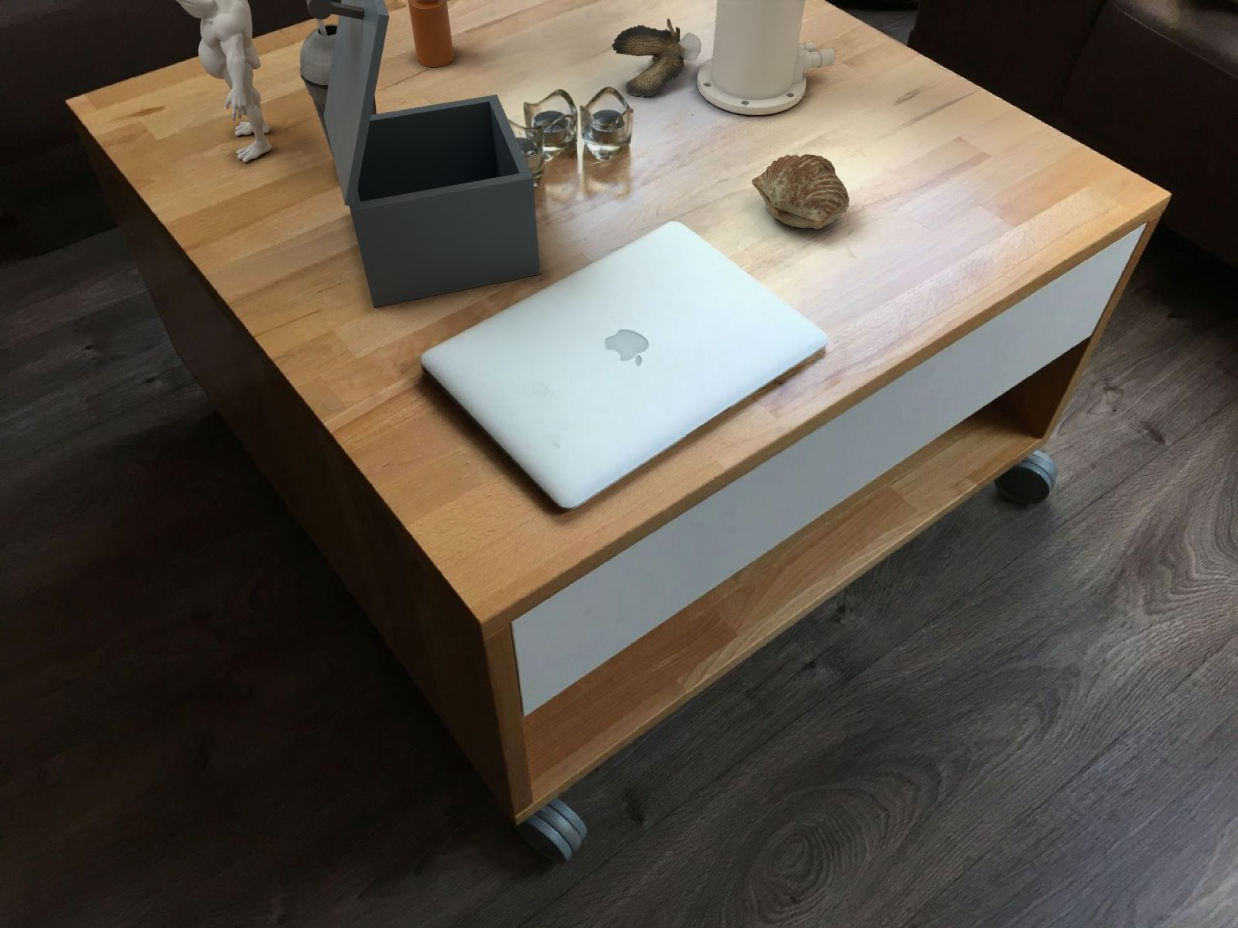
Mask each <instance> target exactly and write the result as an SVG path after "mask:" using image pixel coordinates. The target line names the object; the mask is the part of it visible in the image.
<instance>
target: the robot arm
mask: <svg viewBox="0 0 1238 928" xmlns="http://www.w3.org/2000/svg"><path fill="white" fill-rule="evenodd" d="M805 5H806V0H716V9H715V10H716V11H715V12H716V13H715V21H714V23H715V24H714V33H713V34H714V36H713V46H712V47H713V48H712V57H710V58H708V59H707V60H706V61H704V62H703V63H702V65H701V66H700V68H699V69H698V72H697V78H696V79H697V80H696V84H697V89H698V91H699V93H700V94H701V96H703V98H704V99H705V100H706V101H708V102H709V103H711V104H712V105H713V106H715V107H718V108H720V109H721V110H725V111H728V112H731V113H735V114H740V115H749V116H763V115H771V114H776V113H781V112H783V111H785V110H789V109H790V108H792V107H794V106H795V105H797V104H798V103H799V102H800V101H801V100H802V99H803V97H804V96H805V92H806V87H807V77H806V75H805V74H807V73H809V72H810V71H811V69H816V68H817V69H819V68H825V67H830V66H834V65H835V63H836V51H835V50H834V48H832V47H828V48H822V49H817V46H816V43H815V41H814V40H813V41H807V42H802V43H800V38H801V31H802V24H803V17H804V12H805Z"/></svg>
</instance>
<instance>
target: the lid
mask: <svg viewBox="0 0 1238 928" xmlns="http://www.w3.org/2000/svg"><path fill="white" fill-rule="evenodd" d="M305 1H306V6H307V9H308V10H307V11H308V14H309V15H310V16H311V17H312V18H314V19H319V20H326V19H328V18H329V17H330V16H332V15H335V16H338V19H337V25H338V26H337V32H336V39H335V45H334V52H333V59H332V65H331V72H330V78H329V85H328V91H327V98H326V104H325V111H324V119H325V123H326V128H327V132H328V136H329V140H330V145H331V149H332V153H333V156H332V158H333V157H334V159H333V162H334V165H335V170H336V174H337V178H338V182H339V187H340V191H341V195H342V199H343V200H342V201H343V204H344V206H347V207H349V206H354V203H355V198H356V193H357V187H358V182H359V176H360V171H361V166H362V160H363V155H364V150H365V144H366V139H367V134H368V128H369V123H370V117H371V112H372V107H373V101H374V96H375V97H376V90H377V84H378V79H379V75H380V68H381V63H382V58H383V53H384V48H385V43H386V37H387V31H388V27H389V20H390V14H389V11H388V7H387V5H386V3H385V2H386V1H385V0H340V2H335V1H332V0H305Z"/></svg>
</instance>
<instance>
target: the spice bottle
mask: <svg viewBox="0 0 1238 928" xmlns="http://www.w3.org/2000/svg"><path fill="white" fill-rule="evenodd" d="M407 4H408V9H409V17H410V23H411V28H412V35H413V42H414V48H415V54H416V60H417V62H418V64H420V65H422V66H425V67H428V68H439V67H440V68H441V67H444V66H447V65H449V64H450V63H452V61H453V60H454V57H455V55H454V54H455V53H454V47H453V39H452V31H451V30H452V29H451V23H450V14H449V7H448V0H407Z"/></svg>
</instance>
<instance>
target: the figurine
mask: <svg viewBox="0 0 1238 928" xmlns="http://www.w3.org/2000/svg"><path fill="white" fill-rule="evenodd" d="M175 1H176V2H177V3H178V4H180V6H181V7H182V8H183V9H184V10H185V11H186V12H187V13H188V14H189V15H191V16H192V17H194V18H196V19H201V20H200V26H199V27H200V36H201V39H200V41H199V45H198V58H199V62H200V64H201V65H202V68H203V69H204V71H205V72H206V73H207V74H208V75H209V76H211V77H213V78H215V79H218V80H224V82H225V83H226V85H227V86H228V88H229V89H230V92H229V93H228V95H227V96H226V100H225V103H224V106H225V110H227V111H228V110H229V109H230V105H231V109H232V110H231V112H232V117H231V120H232V121H236V120H237V119H239V120H241V119H242V118H243V116H246V118H247V119H248V121H241V122H239V125H237V126H235V131H234V135H235V136H237V137H239V136H241V135H244V136H248V135H249V136H250V135H251V134H252V133H253V134H254V138H255V140H254V141H253V142H251V144H249V145H248V146H245V147H242V148H239V149H238V150H236V151H235V153H236V155H237V159H238V160H242V162H243V163H248V162H249V161H250V160H255V159H257V158H259V157H260V156H261V155H262V154H265V153H267V152H270V150H272V144H271V143H270V142H268V140H267V138H266V136H265V134H267V133H269V132H270V126H269V124H267V123H266V121H265V119H264V117H263V112H262V104H261V102H262V97H261V93H260V92H259V90H257V88H256V87H255V86H254V85H253V84H254V70H258V69H260V68H261V66H262V63H261V59H260V57H259V54H258V52H257V50H256V48H255V46H254V45H255V44H254V42H253V20H252V19H253V18H252V11H251V7H250V4H249V1H248V0H175ZM236 117H237V119H236Z"/></svg>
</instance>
